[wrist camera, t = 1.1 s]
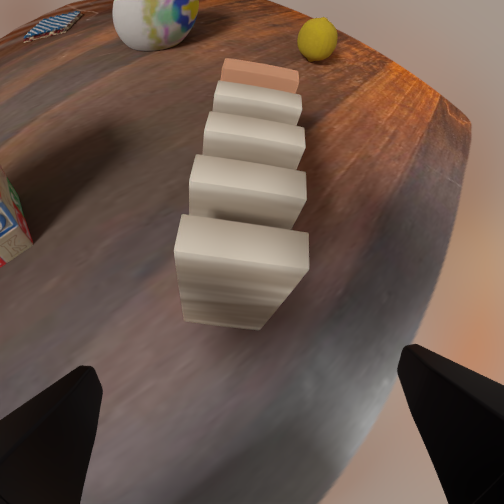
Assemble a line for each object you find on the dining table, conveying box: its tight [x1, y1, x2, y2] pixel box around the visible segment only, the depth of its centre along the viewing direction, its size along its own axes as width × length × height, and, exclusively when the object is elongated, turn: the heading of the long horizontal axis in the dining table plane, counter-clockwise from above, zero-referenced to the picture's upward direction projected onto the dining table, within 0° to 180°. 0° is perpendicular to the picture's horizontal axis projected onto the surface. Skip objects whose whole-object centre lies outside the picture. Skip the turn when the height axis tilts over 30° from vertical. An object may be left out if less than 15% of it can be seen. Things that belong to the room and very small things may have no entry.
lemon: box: [297, 17, 337, 62], centre depth 36 cm, size 6×6×8 cm
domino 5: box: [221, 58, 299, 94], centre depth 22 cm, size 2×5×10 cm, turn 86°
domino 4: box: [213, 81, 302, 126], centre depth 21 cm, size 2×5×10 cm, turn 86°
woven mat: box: [24, 11, 82, 43], centre depth 38 cm, size 10×11×2 cm
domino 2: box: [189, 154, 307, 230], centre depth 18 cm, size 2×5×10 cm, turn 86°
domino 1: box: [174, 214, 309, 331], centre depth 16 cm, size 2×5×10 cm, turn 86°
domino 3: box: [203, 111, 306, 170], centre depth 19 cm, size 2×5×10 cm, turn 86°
